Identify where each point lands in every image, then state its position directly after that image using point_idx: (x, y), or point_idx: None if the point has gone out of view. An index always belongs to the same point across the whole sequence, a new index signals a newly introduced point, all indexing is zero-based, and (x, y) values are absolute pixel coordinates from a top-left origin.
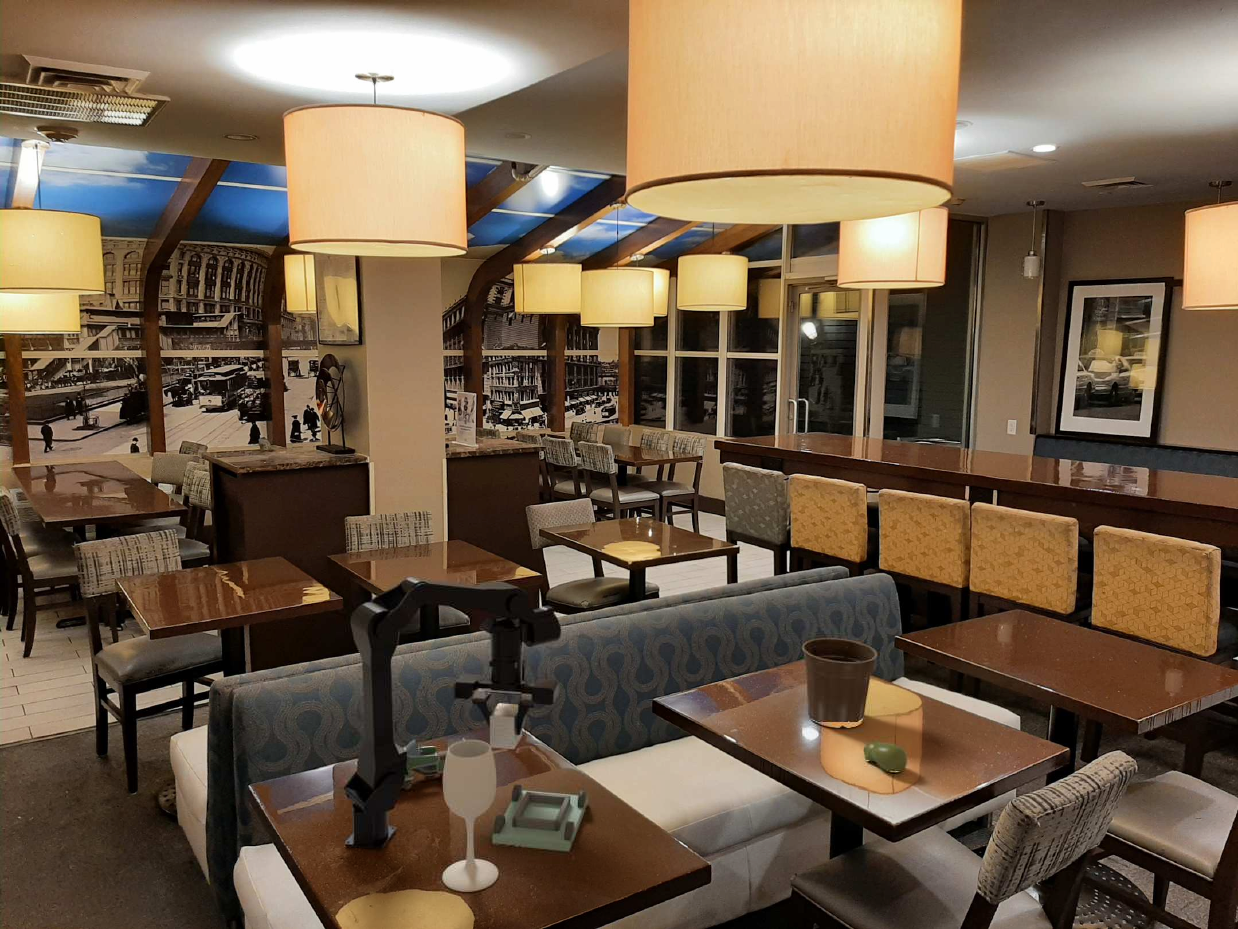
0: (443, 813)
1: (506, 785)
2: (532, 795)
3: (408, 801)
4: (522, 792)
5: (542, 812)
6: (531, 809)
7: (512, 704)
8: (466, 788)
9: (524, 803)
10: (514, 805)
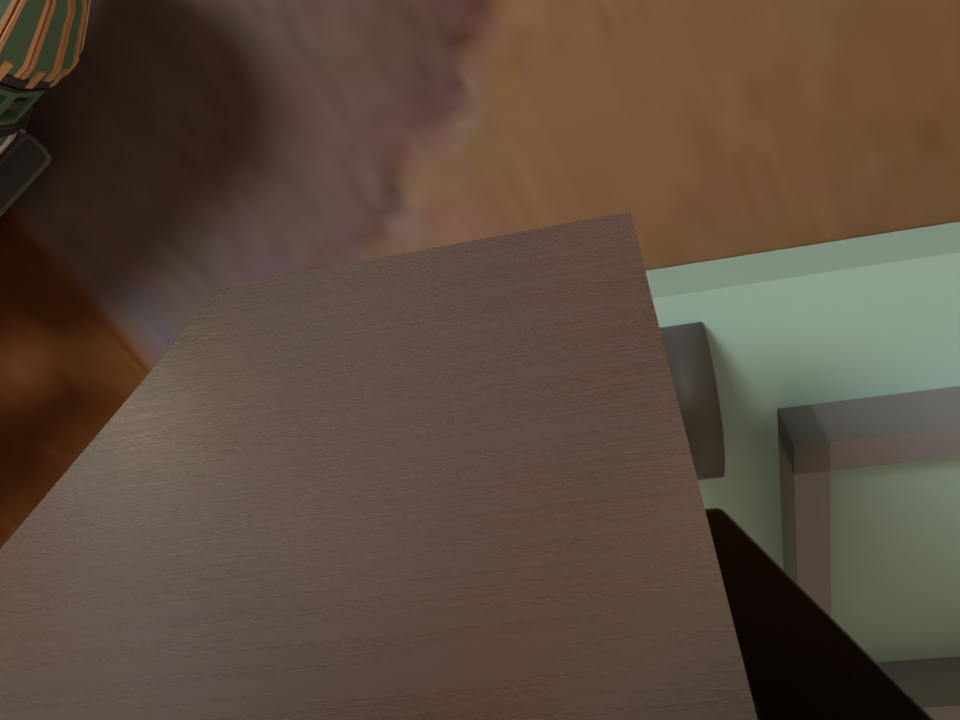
0: None
1: (462, 110)
2: (853, 464)
3: (15, 517)
4: (704, 322)
5: (947, 522)
6: (854, 510)
7: None
8: None
9: (828, 584)
10: (714, 499)
